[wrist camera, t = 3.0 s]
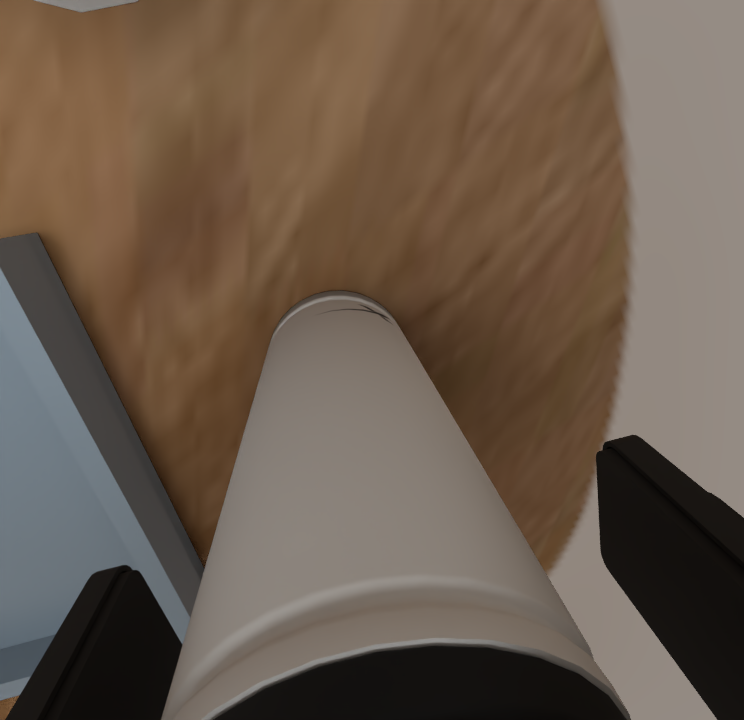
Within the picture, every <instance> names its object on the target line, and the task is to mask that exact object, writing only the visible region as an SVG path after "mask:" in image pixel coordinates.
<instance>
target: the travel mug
mask: <svg viewBox="0 0 744 720" xmlns="http://www.w3.org/2000/svg"><path fill="white" fill-rule="evenodd" d="M161 720H631V719H630V715H629V713H628V711H627V709H626V708H625V706H624V705H623V703H622V701H621V699H620V698H619V696H618V694H617V693H616V691H615V689H614V687H613V686H612V684H611V683H610V682H609V680H608V679H607V677H606V676H605V675H604V673H603V672H602V671H601V669H600V668H599V667H598V665H597V664H596V662H595V661H594V659H593V656H592V653H591V650H590V647H589V645H588V644H587V642H586V640H585V639H584V637H583V635H582V634H581V632H580V630H579V629H578V627H577V625H576V624H575V622H574V620H573V619H572V617H571V615H570V614H569V612H568V610H567V608H566V607H565V605H564V603H563V602H562V600H561V598H560V597H559V595H558V593H557V592H556V590H555V588H554V586H553V585H552V583H551V581H550V580H549V578H548V576H547V575H546V573H545V571H544V570H543V568H542V566H541V565H540V563H539V561H538V560H537V558H536V556H535V554H534V553H533V551H532V549H531V548H530V546H529V544H528V543H527V541H526V539H525V538H524V536H523V534H522V533H521V531H520V529H519V528H518V526H517V524H516V522H515V521H514V519H513V517H512V516H511V514H510V512H509V511H508V509H507V507H506V506H505V504H504V502H503V501H502V499H501V497H500V496H499V494H498V492H497V490H496V489H495V487H494V485H493V484H492V482H491V480H490V479H489V477H488V475H487V474H486V472H485V470H484V469H483V467H482V465H481V464H480V462H479V460H478V458H477V457H476V455H475V453H474V452H473V450H472V448H471V447H470V445H469V443H468V442H467V440H466V438H465V437H464V435H463V433H462V432H461V430H460V428H459V426H458V425H457V423H456V421H455V420H454V418H453V416H452V415H451V413H450V411H449V410H448V408H447V406H446V405H445V403H444V401H443V400H442V398H441V396H440V394H439V393H438V391H437V389H436V388H435V386H434V384H433V383H432V381H431V379H430V378H429V376H428V374H427V373H426V371H425V369H424V368H423V366H422V364H421V363H420V361H419V359H418V357H417V356H416V354H415V352H414V351H413V349H412V347H411V346H410V344H409V342H408V341H407V339H406V337H405V336H404V334H403V332H402V331H401V329H400V327H399V325H398V324H397V322H396V321H395V320H394V318H393V317H392V315H391V314H390V313H389V312H388V311H387V310H386V309H385V308H384V307H383V306H382V305H380V304H379V303H377V302H376V301H374V300H372V299H371V298H369V297H366V296H364V295H361V294H358V293H354V292H348V291H327V292H323V293H318V294H315V295H312V296H310V297H308V298H306V299H303V300H302V301H300V302H299V303H297V304H296V305H294V306H293V307H292V308H290V310H289V311H288V312H287V313H286V314H285V315H284V316H283V317H282V318H281V320H280V321H279V323H278V325H277V326H276V328H275V330H274V333H273V335H272V338H271V341H270V345H269V348H268V352H267V355H266V358H265V362H264V365H263V369H262V372H261V376H260V379H259V383H258V386H257V389H256V393H255V396H254V400H253V403H252V407H251V410H250V414H249V417H248V421H247V424H246V428H245V431H244V434H243V438H242V441H241V445H240V448H239V452H238V455H237V459H236V462H235V466H234V469H233V472H232V476H231V479H230V483H229V486H228V490H227V493H226V497H225V500H224V504H223V507H222V511H221V514H220V517H219V521H218V524H217V528H216V531H215V535H214V538H213V542H212V545H211V549H210V552H209V556H208V559H207V562H206V566H205V569H204V573H203V576H202V580H201V583H200V587H199V590H198V594H197V597H196V600H195V604H194V607H193V611H192V614H191V618H190V621H189V625H188V628H187V632H186V635H185V639H184V642H183V645H182V649H181V652H180V656H179V659H178V663H177V666H176V670H175V673H174V677H173V680H172V683H171V687H170V690H169V694H168V697H167V701H166V704H165V708H164V711H163V715H162V718H161Z"/></svg>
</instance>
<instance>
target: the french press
mask: <svg viewBox="0 0 744 720" xmlns="http://www.w3.org/2000/svg"><path fill="white" fill-rule="evenodd" d="M35 1H39V2H43V3H47V4H50V5H54V6H58V7H62V8H66V9H70V10H74V11H78V12H86V11H91V10H96V9H102V8H107V7H112V6H117V5H122V4H127V3H133V2H137V1H138V0H35Z"/></svg>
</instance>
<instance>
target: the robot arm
mask: <svg viewBox="0 0 744 720" xmlns="http://www.w3.org/2000/svg"><path fill="white" fill-rule="evenodd" d="M596 465H597V486H598V505H599V527H600V545H601V546H600V547H601V555H602V558H603V561H604V563H605V565H606V567H607V569H608V570H609V572H610V573H611V574H612V576H613V577H614V579H615V580H616V581H617V583H618V584H619V585H620V587H621V588H622V589H623V591H624V592H625V594H626V595H627V596H628V598H629V599H630V600H631V602H632V603H633V605H634V606H635V607H636V609H637V610H638V611H639V613H640V614H641V615H642V617H643V618H644V620H645V621H646V622H647V624H648V625H649V626H650V628H651V629H652V631H653V632H654V633H655V635H656V636H657V637H658V639H659V640H660V642H661V643H662V644H663V646H664V647H665V648H666V650H667V651H668V652H669V654H670V655H671V657H672V658H673V659H674V660H675V662H676V663H677V665H678V666H679V668H680V669H681V670H682V672H683V673H684V674H685V676H686V677H687V678H688V680H689V681H690V683H691V684H692V685H693V687H694V688H695V689H696V691H697V692H698V694H699V695H700V696H701V698H702V699H703V700H704V702H705V703H706V704H707V706H708V707H709V709H710V710H711V711H712V713H713V714H714V715H715V717H716V718H717V720H744V518H743V517H742V516H741V515H739V514H738V513H737V512H736V511H734V510H733V509H732V508H731V507H730V506H728V505H727V504H726V503H724V502H723V501H722V500H721V499H719V498H718V497H716V496H714V495H713V494H712V493H709V492H707V491H705V490H704V489H703V488H702V487H701V486H699V485H698V484H697V483H696V482H694V481H693V480H692V479H691V478H689V477H688V476H687V475H686V474H685V473H683V472H682V471H681V470H680V469H678V468H677V467H676V466H675V465H673V464H672V463H671V462H670V461H669V460H667V459H666V458H665V457H664V456H662V455H661V454H660V453H659V452H657V451H656V450H655V449H654V448H653V447H651V446H650V445H649V444H648V443H646V442H645V441H644V440H643V439H642V438H640V437H638V436H636V435H630V436H627V437H623V438H619V439H615V440H611V441H607V442H605V443H604V445H603V450H602V451H599V452H597V454H596ZM181 649H182V643H181V641H180V640H179V638H178V636H177V635H176V633H175V631H174V629H173V628H172V626H171V624H170V622H169V621H168V619H167V617H166V615H165V614H164V612H163V610H162V609H161V607H160V605H159V603H158V602H157V600H156V598H155V596H154V595H153V593H152V591H151V590H150V588H149V586H148V584H147V583H146V581H145V579H144V577H143V576H142V574H141V573H140V572H139V571H138V570H132V568H131V567H130V566H128V565H121V566H117V567H113V568H109V569H105V570H101V571H98V572H95V573H94V574H92V575H91V576H90V578H89V579H88V581H87V582H86V584H85V586H84V587H83V589H82V591H81V592H80V594H79V596H78V598H77V599H76V601H75V603H74V604H73V606H72V608H71V609H70V611H69V613H68V614H67V616H66V618H65V620H64V621H63V623H62V625H61V626H60V628H59V630H58V631H57V633H56V635H55V637H54V638H53V640H52V642H51V643H50V645H49V647H48V648H47V650H46V652H45V653H44V655H43V657H42V659H41V660H40V662H39V664H38V665H37V667H36V669H35V670H34V672H33V674H32V676H31V677H30V679H29V681H28V682H27V684H26V686H25V687H24V689H23V691H22V692H21V694H20V696H19V698H18V699H17V701H16V703H15V704H14V706H13V708H12V709H11V711H10V713H9V714H8V716H7V718H6V720H161V718H162V715H163V711H164V708H165V704H166V701H167V697H168V694H169V690H170V687H171V683H172V680H173V677H174V673H175V670H176V666H177V663H178V659H179V656H180V652H181Z"/></svg>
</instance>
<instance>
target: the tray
mask: <svg viewBox="0 0 744 720" xmlns="http://www.w3.org/2000/svg"><path fill="white" fill-rule="evenodd" d="M121 565H128V566H130V567H131V568H132V570H138V571H139V572H140V573H141V574H142V576H143V577H144V579H145V581H146V583H147V584H148V586H149V588H150V590H151V591H152V593H153V595H154V596H155V598H156V600H157V602H158V603H159V605H160V607H161V609H162V610H163V612H164V614H165V615H166V617H167V619H168V621H169V622H170V624H171V626H172V628H173V629H174V631H175V633H176V635H177V636H178V638H179V640H180V641H181V643H182V645H183V642H184V639H185V635H186V632H187V628H188V625H189V621H190V618H191V614H192V611H193V607H194V604H195V600H196V597H197V594H198V590H199V587H200V583H201V580H202V576H203V573H204V567H203V565H202V563H201V561H200V559H199V557H198V555H197V553H196V551H195V549H194V547H193V545H192V543H191V541H190V539H189V537H188V535H187V533H186V531H185V529H184V527H183V525H182V523H181V521H180V519H179V517H178V515H177V513H176V511H175V509H174V507H173V505H172V503H171V501H170V499H169V497H168V495H167V493H166V491H165V489H164V487H163V485H162V483H161V481H160V479H159V477H158V475H157V473H156V471H155V469H154V467H153V465H152V463H151V461H150V459H149V457H148V455H147V453H146V451H145V449H144V447H143V445H142V443H141V441H140V439H139V437H138V435H137V433H136V431H135V429H134V427H133V425H132V423H131V420H130V418H129V416H128V414H127V412H126V410H125V408H124V406H123V404H122V402H121V400H120V398H119V396H118V394H117V392H116V390H115V388H114V386H113V384H112V382H111V380H110V378H109V376H108V374H107V372H106V370H105V368H104V366H103V364H102V362H101V360H100V358H99V356H98V354H97V352H96V350H95V348H94V346H93V344H92V342H91V340H90V338H89V336H88V334H87V332H86V330H85V328H84V326H83V324H82V322H81V320H80V318H79V316H78V314H77V312H76V310H75V308H74V306H73V304H72V302H71V300H70V298H69V296H68V294H67V292H66V290H65V288H64V286H63V284H62V282H61V280H60V278H59V276H58V274H57V272H56V270H55V268H54V266H53V264H52V262H51V260H50V258H49V256H48V254H47V252H46V250H45V248H44V246H43V244H42V242H41V240H40V238H39V236H38V233H31V234H25V235H19V236H13V237H7V238H1V239H0V700H4V699H7V698H11V697H15V696H18V695H20V694H21V692H22V691H23V689H24V687H25V686H26V684H27V682H28V681H29V679H30V677H31V676H32V674H33V672H34V670H35V669H36V667H37V665H38V664H39V662H40V660H41V659H42V657H43V655H44V653H45V652H46V650H47V648H48V647H49V645H50V643H51V642H52V640H53V638H54V637H55V635H56V633H57V631H58V630H59V628H60V626H61V625H62V623H63V621H64V620H65V618H66V616H67V614H68V613H69V611H70V609H71V608H72V606H73V604H74V603H75V601H76V599H77V598H78V596H79V594H80V592H81V591H82V589H83V587H84V586H85V584H86V582H87V581H88V579H89V578H90V576H91V575H92V574H94V573H95V572H98V571H101V570H105V569H109V568H113V567H117V566H121Z"/></svg>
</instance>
